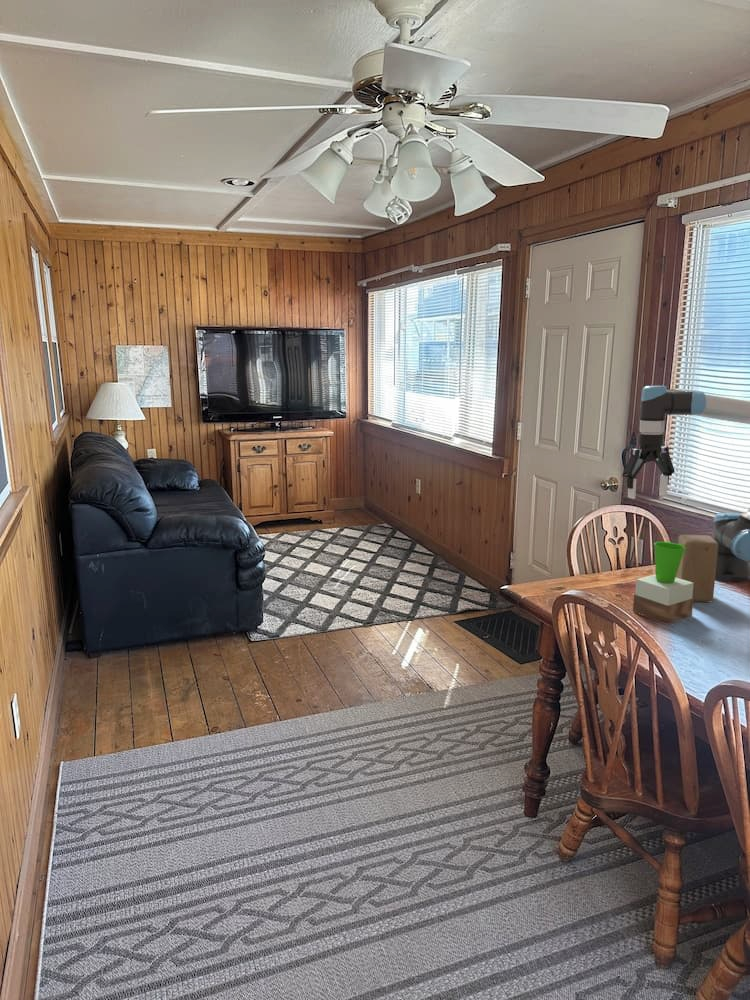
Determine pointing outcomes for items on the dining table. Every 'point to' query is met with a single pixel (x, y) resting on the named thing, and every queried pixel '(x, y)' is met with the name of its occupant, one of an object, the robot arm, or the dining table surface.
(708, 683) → the dining table surface
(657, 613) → the tower base
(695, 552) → the wooden block
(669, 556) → the cup
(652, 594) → the tower top
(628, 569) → the dining table surface
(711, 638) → the dining table surface
